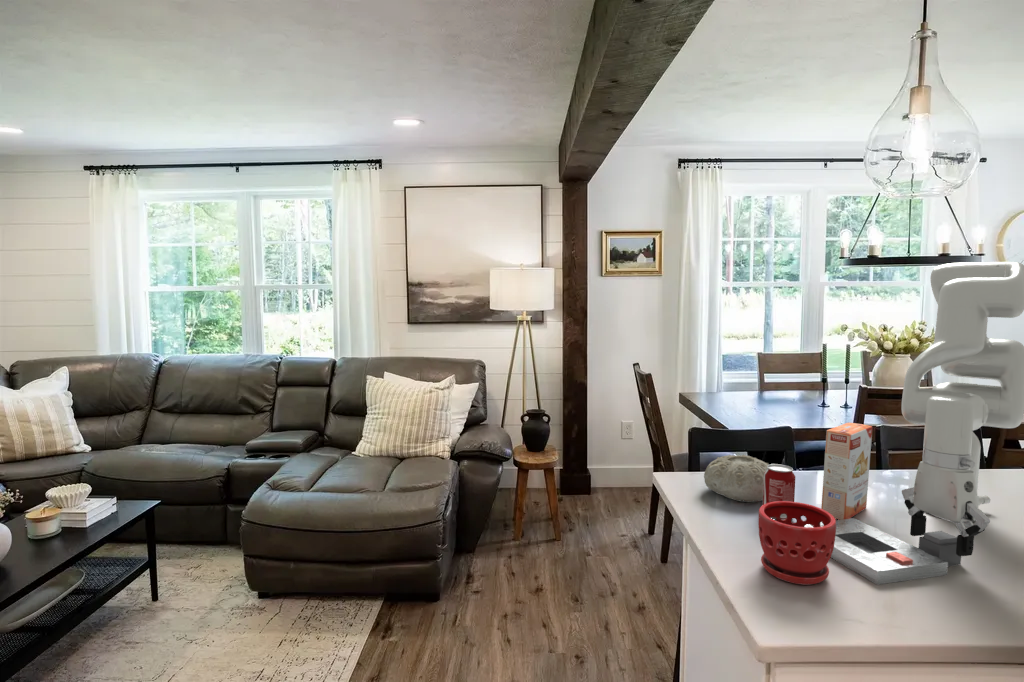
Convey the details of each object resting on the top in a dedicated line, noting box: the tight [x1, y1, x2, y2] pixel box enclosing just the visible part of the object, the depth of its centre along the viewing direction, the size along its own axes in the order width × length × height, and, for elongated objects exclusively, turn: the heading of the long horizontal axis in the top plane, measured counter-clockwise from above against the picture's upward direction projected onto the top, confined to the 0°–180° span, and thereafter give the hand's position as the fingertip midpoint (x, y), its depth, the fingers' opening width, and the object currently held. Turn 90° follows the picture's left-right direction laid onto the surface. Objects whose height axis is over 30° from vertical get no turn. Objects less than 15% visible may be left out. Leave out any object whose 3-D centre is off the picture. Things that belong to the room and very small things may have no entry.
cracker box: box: [820, 422, 873, 520], centre depth 142 cm, size 14×6×21 cm, turn 131°
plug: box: [918, 530, 962, 567], centre depth 117 cm, size 5×4×5 cm
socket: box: [804, 517, 949, 586], centre depth 120 cm, size 16×22×3 cm
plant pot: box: [757, 501, 837, 586], centre depth 111 cm, size 13×13×12 cm
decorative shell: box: [703, 454, 769, 503], centre depth 154 cm, size 18×18×10 cm
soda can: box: [762, 463, 796, 520], centre depth 139 cm, size 7×7×12 cm
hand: (939, 544), depth 116 cm, fingers open, 9 cm apart
